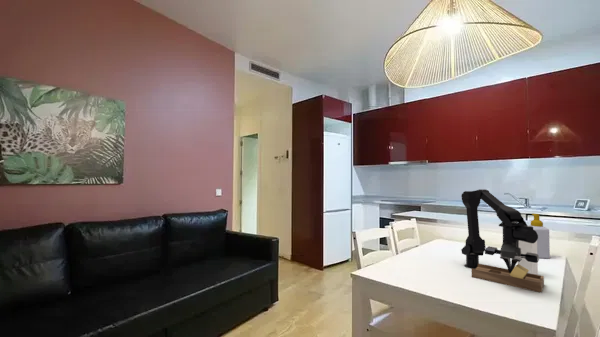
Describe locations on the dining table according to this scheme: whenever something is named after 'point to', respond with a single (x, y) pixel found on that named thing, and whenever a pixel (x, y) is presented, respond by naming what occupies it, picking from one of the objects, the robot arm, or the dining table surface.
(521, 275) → the block
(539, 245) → the soap bottle
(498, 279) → the wooden compartment tray
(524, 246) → the milk
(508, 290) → the dining table surface
